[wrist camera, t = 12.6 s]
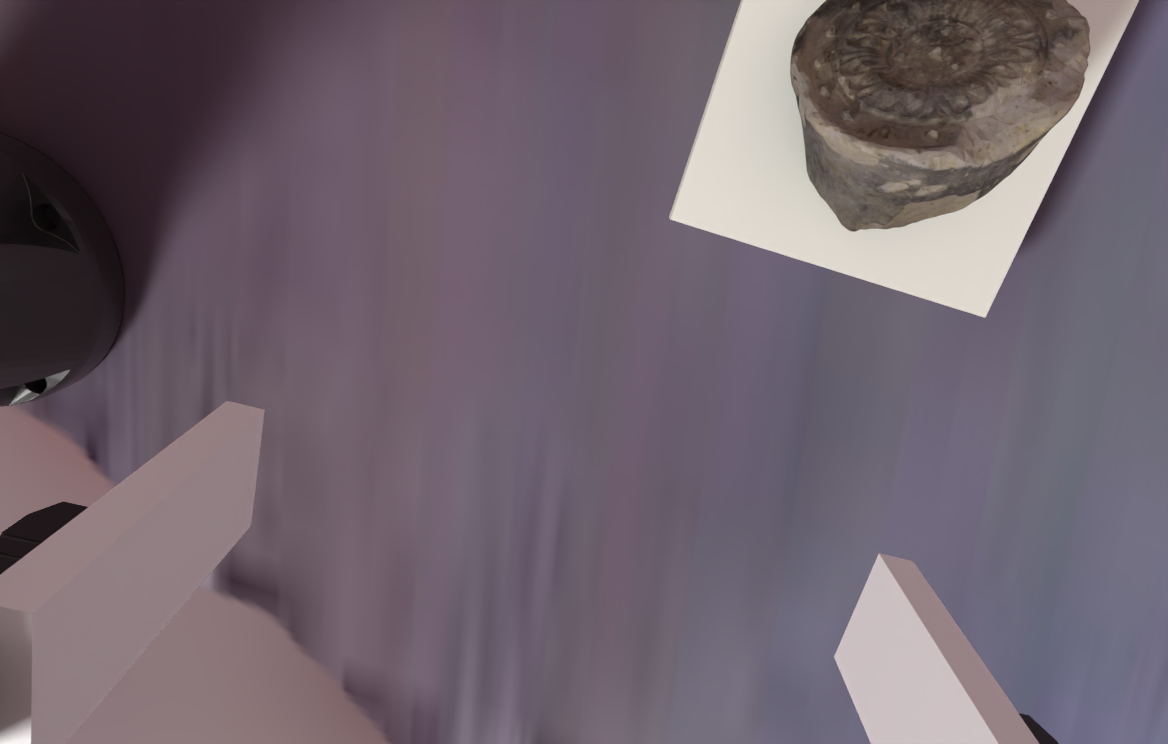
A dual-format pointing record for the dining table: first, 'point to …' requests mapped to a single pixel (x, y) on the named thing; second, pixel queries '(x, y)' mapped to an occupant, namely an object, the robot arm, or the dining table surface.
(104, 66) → the dining table surface
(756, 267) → the dining table surface
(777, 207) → the stand
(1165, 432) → the dining table surface
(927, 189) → the fossil
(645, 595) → the dining table surface
